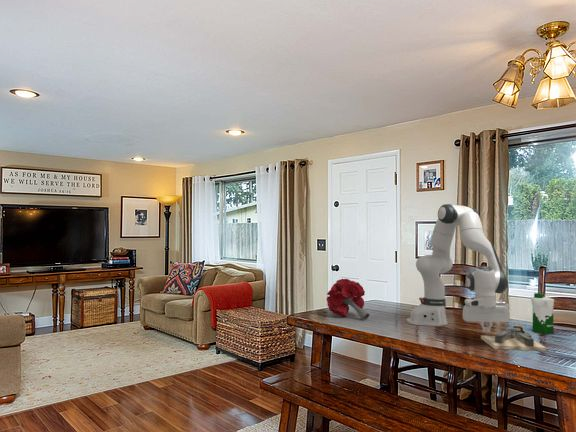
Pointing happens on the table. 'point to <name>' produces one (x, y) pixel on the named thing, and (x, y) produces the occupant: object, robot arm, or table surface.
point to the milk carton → (542, 314)
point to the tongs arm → (502, 336)
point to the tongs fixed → (521, 336)
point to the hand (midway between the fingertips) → (486, 331)
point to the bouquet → (346, 298)
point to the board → (512, 344)
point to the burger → (521, 330)
